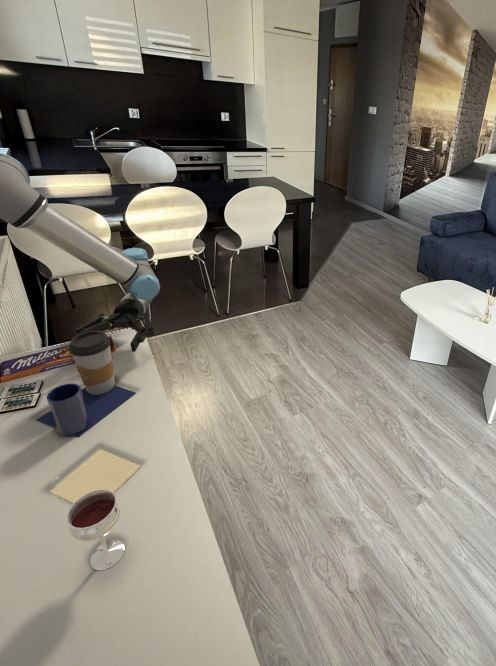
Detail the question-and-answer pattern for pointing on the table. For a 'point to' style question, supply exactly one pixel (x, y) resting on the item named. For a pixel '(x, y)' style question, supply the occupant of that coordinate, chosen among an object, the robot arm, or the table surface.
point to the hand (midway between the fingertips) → (104, 348)
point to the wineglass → (97, 525)
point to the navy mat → (96, 406)
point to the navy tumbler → (68, 409)
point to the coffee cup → (93, 361)
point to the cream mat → (96, 476)
